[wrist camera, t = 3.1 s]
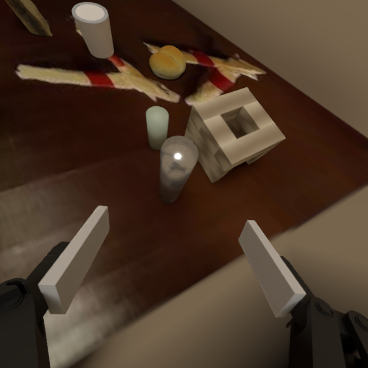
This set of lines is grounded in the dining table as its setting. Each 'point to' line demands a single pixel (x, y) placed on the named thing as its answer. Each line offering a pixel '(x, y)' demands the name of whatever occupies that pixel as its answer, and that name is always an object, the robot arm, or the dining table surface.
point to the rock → (30, 16)
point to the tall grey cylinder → (176, 166)
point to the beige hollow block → (231, 132)
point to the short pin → (157, 126)
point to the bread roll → (168, 63)
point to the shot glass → (94, 28)
